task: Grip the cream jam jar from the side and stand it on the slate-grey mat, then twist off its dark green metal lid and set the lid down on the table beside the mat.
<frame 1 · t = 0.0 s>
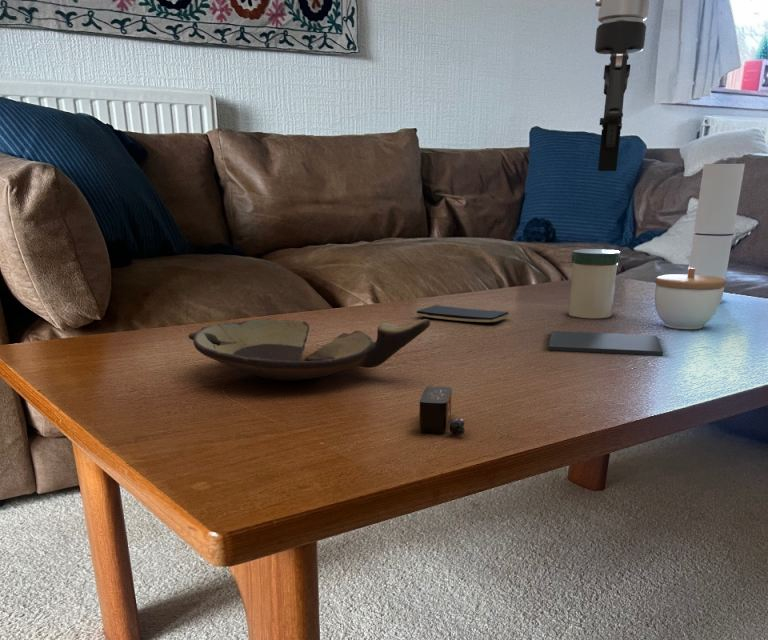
hand: (606, 171, 131), 24 cm above the table, tool pointing down, fingers open, 13 cm apart
mat: (603, 344, 118), on the table
lid: (596, 254, 137), point 10 cm above the table, screwed on, not yet turned
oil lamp: (302, 378, 100), on the table
smartphone: (462, 319, 138), on the table
jar: (589, 314, 141), on the table
trinket box: (683, 327, 131), on the table
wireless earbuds: (441, 429, 81), on the table
cylindrical container: (702, 301, 156), on the table
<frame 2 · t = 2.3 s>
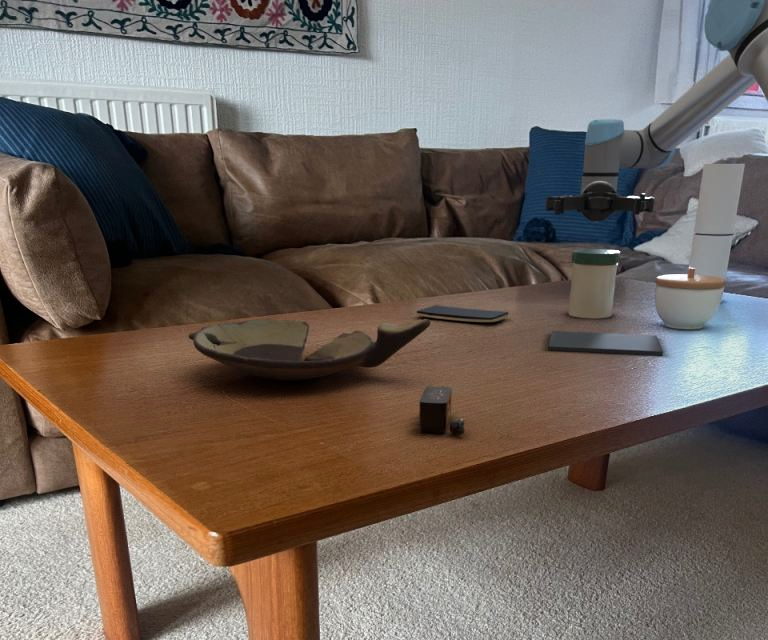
hand: (599, 206, 144), 18 cm above the table, tool horizontal, fingers open, 13 cm apart
nothing on the table moved.
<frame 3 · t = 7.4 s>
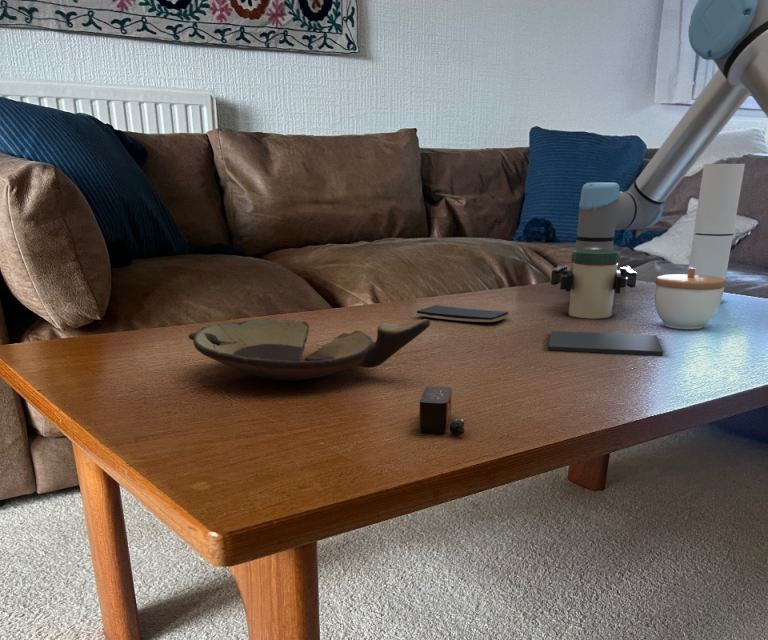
hand: (593, 284, 135), 6 cm above the table, tool horizontal, fingers closed on jar, 8 cm apart
jar: (589, 314, 141), on the table, touching gripper
everything else where it was.
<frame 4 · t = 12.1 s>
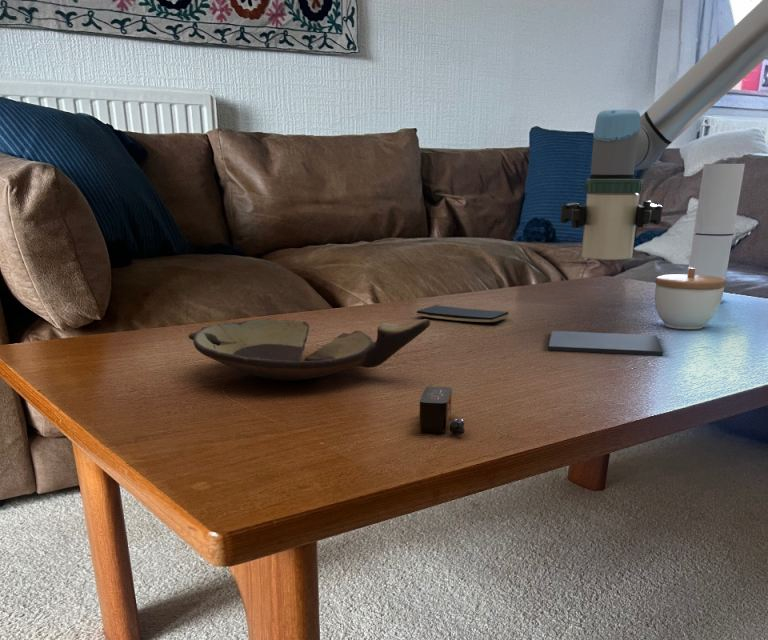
hand: (611, 217, 113), 18 cm above the table, tool horizontal, fingers closed on jar, 8 cm apart
lid: (614, 182, 115), point 22 cm above the table, screwed on, not yet turned
jar: (606, 257, 120), point 12 cm above the table, touching gripper
everything else where it was.
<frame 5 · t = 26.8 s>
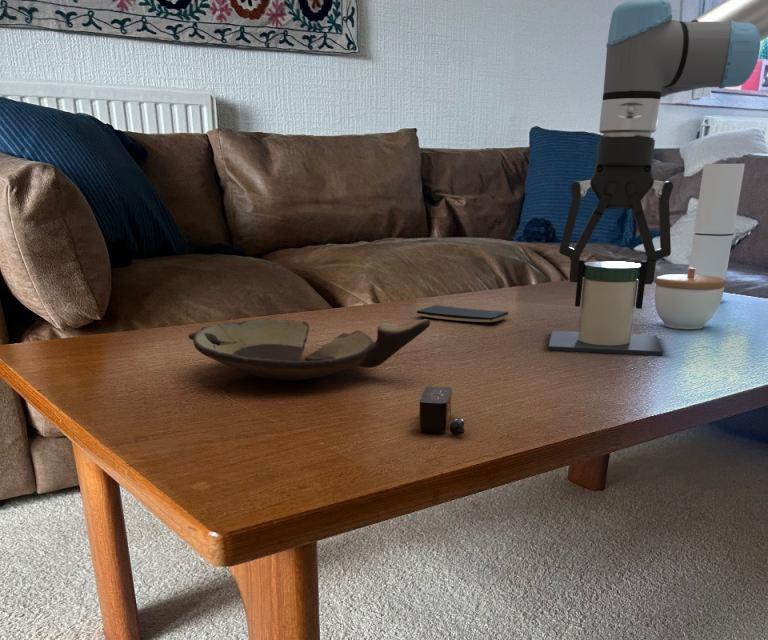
hand: (607, 305, 116), 6 cm above the table, tool pointing down, fingers closed on lid, 8 cm apart
lid: (612, 268, 113), point 11 cm above the table, screwed on, not yet turned, touching gripper
jar: (603, 340, 118), point 1 cm above the table, touching mat
everything else where it was.
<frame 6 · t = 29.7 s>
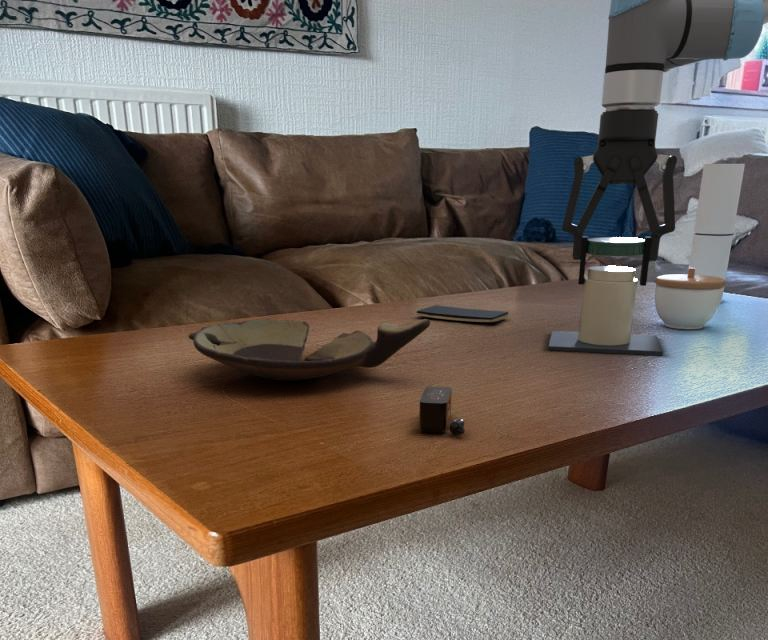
hand: (611, 283, 114), 9 cm above the table, tool pointing down, fingers closed on lid, 8 cm apart
lid: (615, 243, 112), point 14 cm above the table, off its thread, touching gripper
everything else where it was.
when the fingers open (0 cm above the table, at t = 36.4 s): lid drops 5 cm, point 1 cm above the table.
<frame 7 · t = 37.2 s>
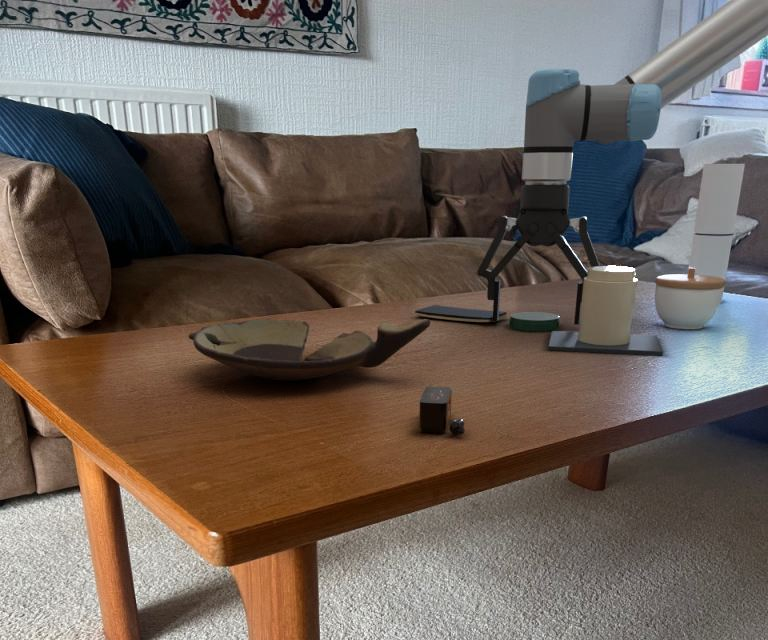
hand: (535, 321, 130), 1 cm above the table, tool pointing down, fingers open, 13 cm apart
lid: (534, 319, 130), point 1 cm above the table, off its thread
everything else where it was.
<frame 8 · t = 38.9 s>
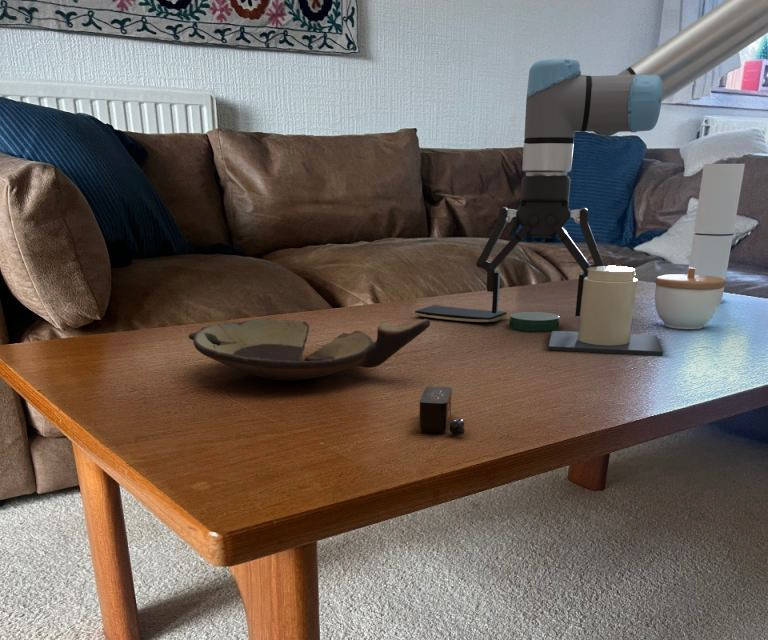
hand: (535, 313, 130), 2 cm above the table, tool pointing down, fingers open, 13 cm apart
nothing on the table moved.
at the end: jar inside the target area on the mat (0.1 cm from its centre), point 0.6 cm above the mat's base; lid inside the target area (1.0 cm from its centre), point 1.3 cm above the table; the gripper is holding nothing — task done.
